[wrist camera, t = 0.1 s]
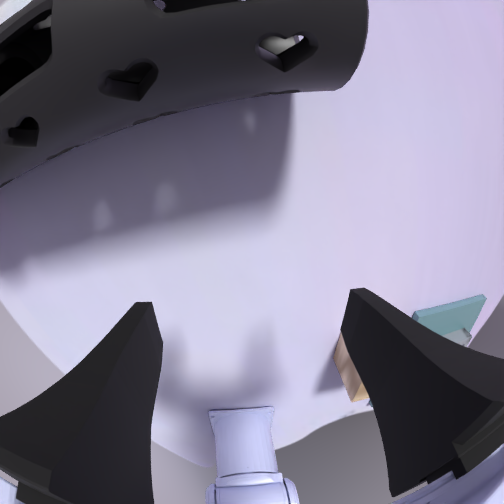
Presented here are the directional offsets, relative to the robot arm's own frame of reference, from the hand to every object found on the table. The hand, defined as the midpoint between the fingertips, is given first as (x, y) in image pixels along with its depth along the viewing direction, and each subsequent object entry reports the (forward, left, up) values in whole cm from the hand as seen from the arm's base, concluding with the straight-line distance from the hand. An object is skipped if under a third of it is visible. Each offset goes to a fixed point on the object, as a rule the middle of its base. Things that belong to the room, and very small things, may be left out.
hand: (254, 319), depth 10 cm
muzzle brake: (+10, +10, -10) cm, 18 cm away
